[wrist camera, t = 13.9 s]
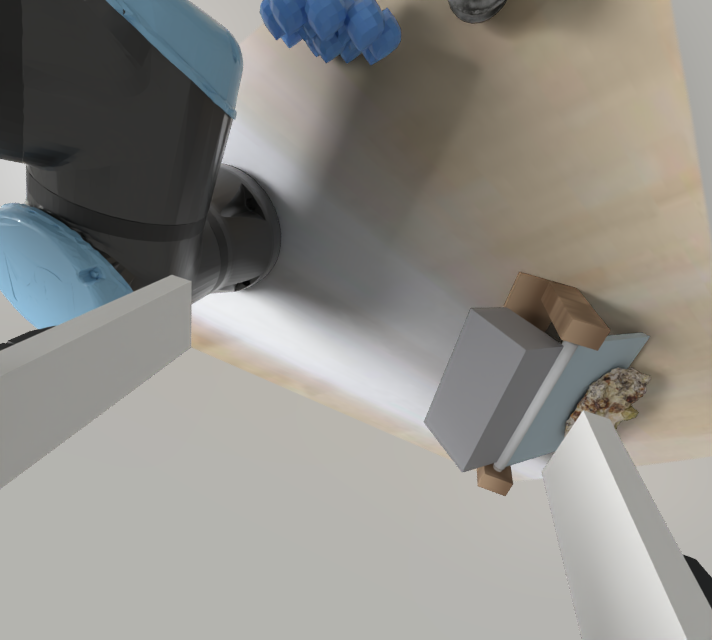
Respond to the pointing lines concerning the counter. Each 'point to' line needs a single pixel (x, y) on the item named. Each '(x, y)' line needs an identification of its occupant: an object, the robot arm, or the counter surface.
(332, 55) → the grapes
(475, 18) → the salt shaker
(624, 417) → the mineral rock
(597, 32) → the counter surface
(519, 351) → the trapdoor
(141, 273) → the robot arm
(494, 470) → the frame
